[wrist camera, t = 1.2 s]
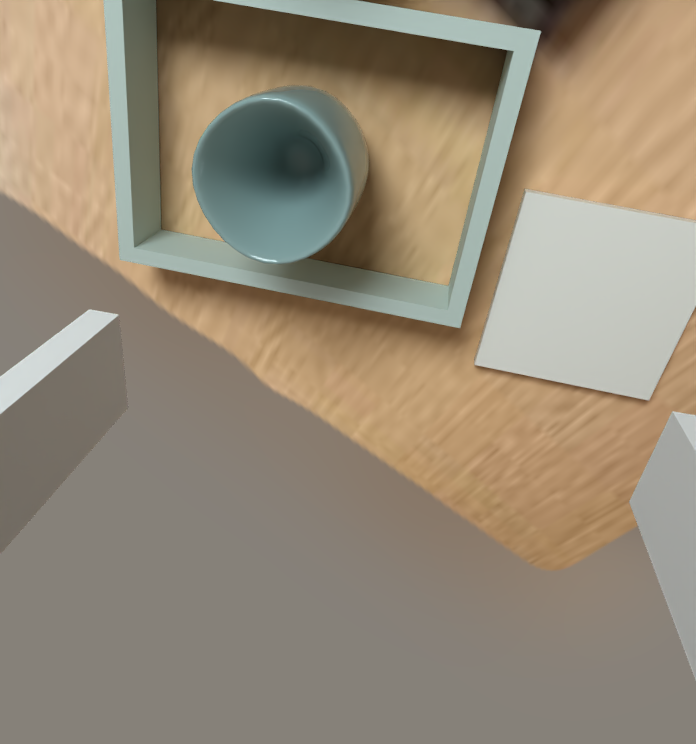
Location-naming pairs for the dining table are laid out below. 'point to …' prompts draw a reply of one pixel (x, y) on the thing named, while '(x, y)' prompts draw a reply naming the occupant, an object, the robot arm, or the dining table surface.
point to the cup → (281, 172)
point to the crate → (308, 276)
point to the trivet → (591, 294)
